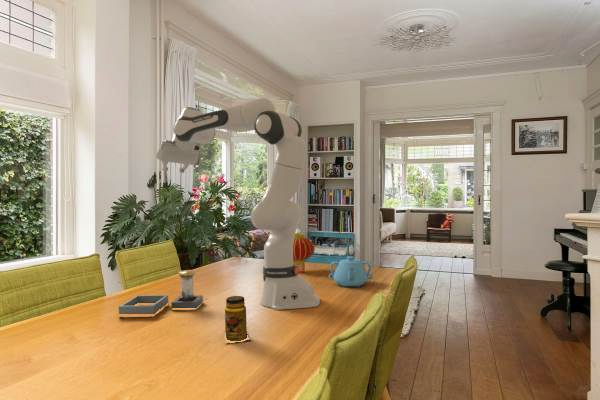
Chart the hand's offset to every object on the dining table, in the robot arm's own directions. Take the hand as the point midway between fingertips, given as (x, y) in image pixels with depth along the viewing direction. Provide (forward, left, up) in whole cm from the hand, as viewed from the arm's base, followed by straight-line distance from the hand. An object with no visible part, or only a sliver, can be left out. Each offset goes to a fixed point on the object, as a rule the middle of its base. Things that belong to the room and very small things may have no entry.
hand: (173, 171), depth 174 cm
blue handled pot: (-79, +1, -53) cm, 95 cm away
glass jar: (-15, +30, -52) cm, 62 cm away
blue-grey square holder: (-15, +30, -52) cm, 62 cm away
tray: (-1, +35, -52) cm, 63 cm away
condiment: (-39, +61, -53) cm, 90 cm away
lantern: (-55, -29, -52) cm, 81 cm away
